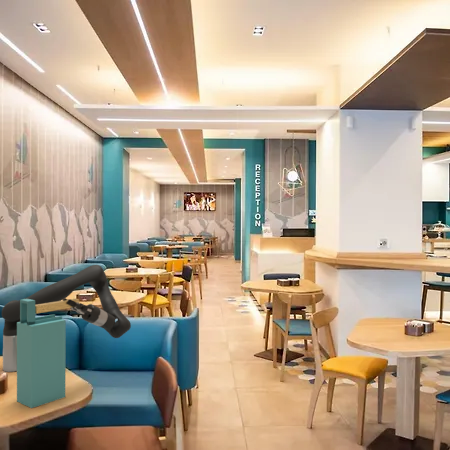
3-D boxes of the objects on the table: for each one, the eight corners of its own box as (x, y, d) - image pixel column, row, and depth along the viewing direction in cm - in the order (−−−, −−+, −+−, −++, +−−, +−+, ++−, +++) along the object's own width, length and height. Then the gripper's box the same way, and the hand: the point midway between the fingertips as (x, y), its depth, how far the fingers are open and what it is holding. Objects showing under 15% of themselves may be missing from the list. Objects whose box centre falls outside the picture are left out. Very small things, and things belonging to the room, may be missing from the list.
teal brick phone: (16, 401, 191) (16, 299, 191) (50, 390, 203) (50, 294, 202) (31, 408, 184) (31, 302, 184) (65, 396, 196) (65, 297, 196)
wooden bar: (32, 312, 192) (32, 305, 192) (75, 305, 207) (75, 298, 207) (36, 313, 190) (36, 306, 190) (79, 306, 206) (79, 299, 205)
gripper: (88, 305, 219) (60, 291, 208) (108, 309, 211) (79, 294, 199) (81, 321, 217) (52, 307, 205) (101, 325, 208) (71, 311, 196)
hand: (65, 300), depth 202 cm, fingers closed on wooden bar, 3 cm apart
